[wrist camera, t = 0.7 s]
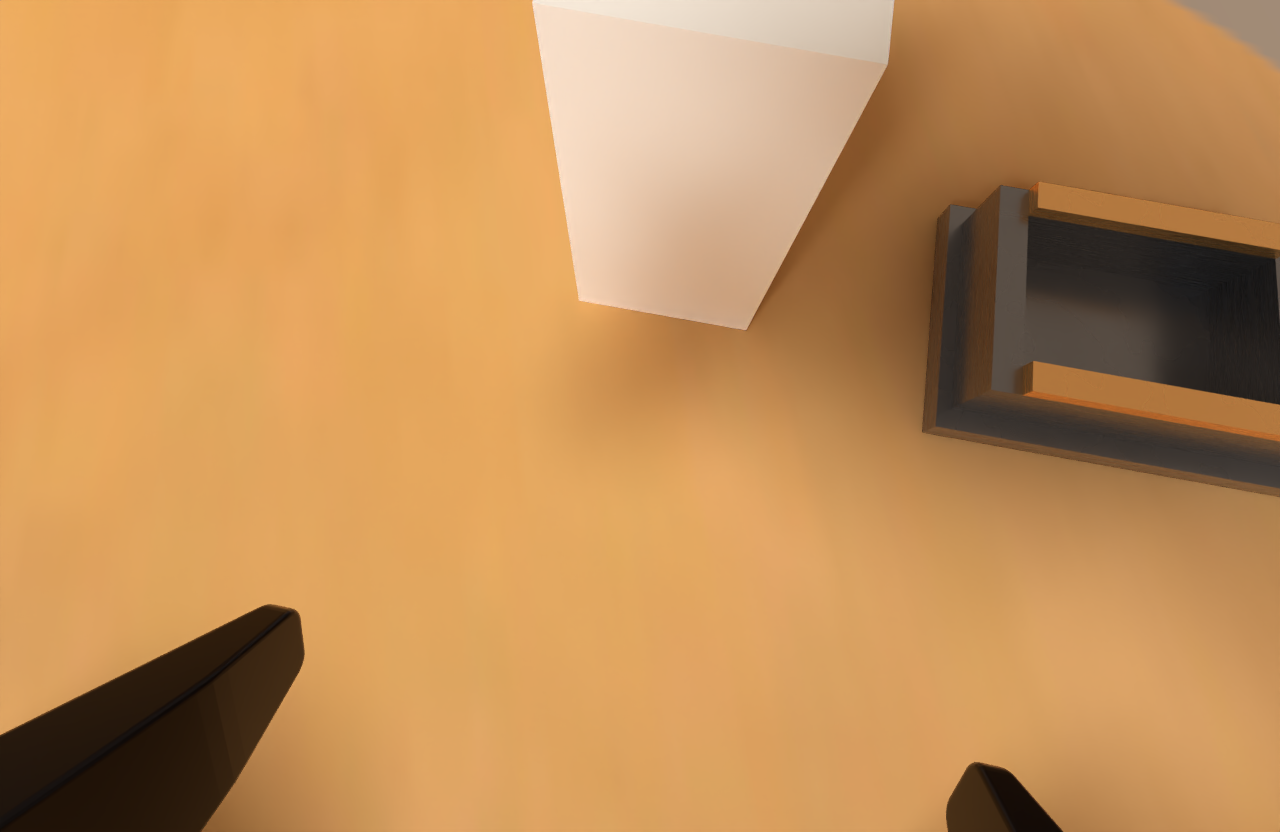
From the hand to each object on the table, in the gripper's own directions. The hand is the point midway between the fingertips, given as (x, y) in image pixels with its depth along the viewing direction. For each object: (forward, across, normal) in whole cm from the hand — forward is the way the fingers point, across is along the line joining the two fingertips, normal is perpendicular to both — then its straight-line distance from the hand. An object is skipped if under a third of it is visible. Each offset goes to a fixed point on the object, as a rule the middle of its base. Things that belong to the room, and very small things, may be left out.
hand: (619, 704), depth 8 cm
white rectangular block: (+18, +1, -2) cm, 19 cm away
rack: (+20, -19, -1) cm, 28 cm away
